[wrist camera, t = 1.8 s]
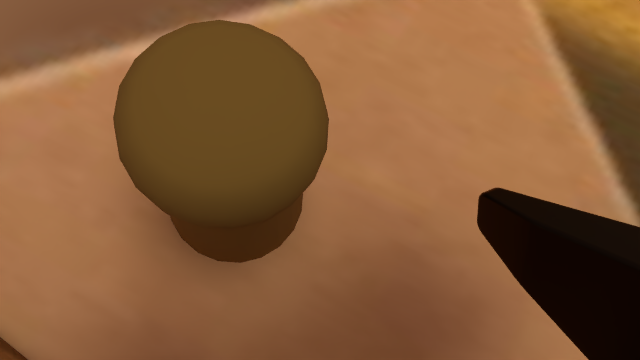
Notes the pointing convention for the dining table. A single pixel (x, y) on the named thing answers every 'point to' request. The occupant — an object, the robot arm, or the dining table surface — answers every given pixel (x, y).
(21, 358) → the oak cradle
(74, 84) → the dining table surface
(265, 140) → the pepper shaker
